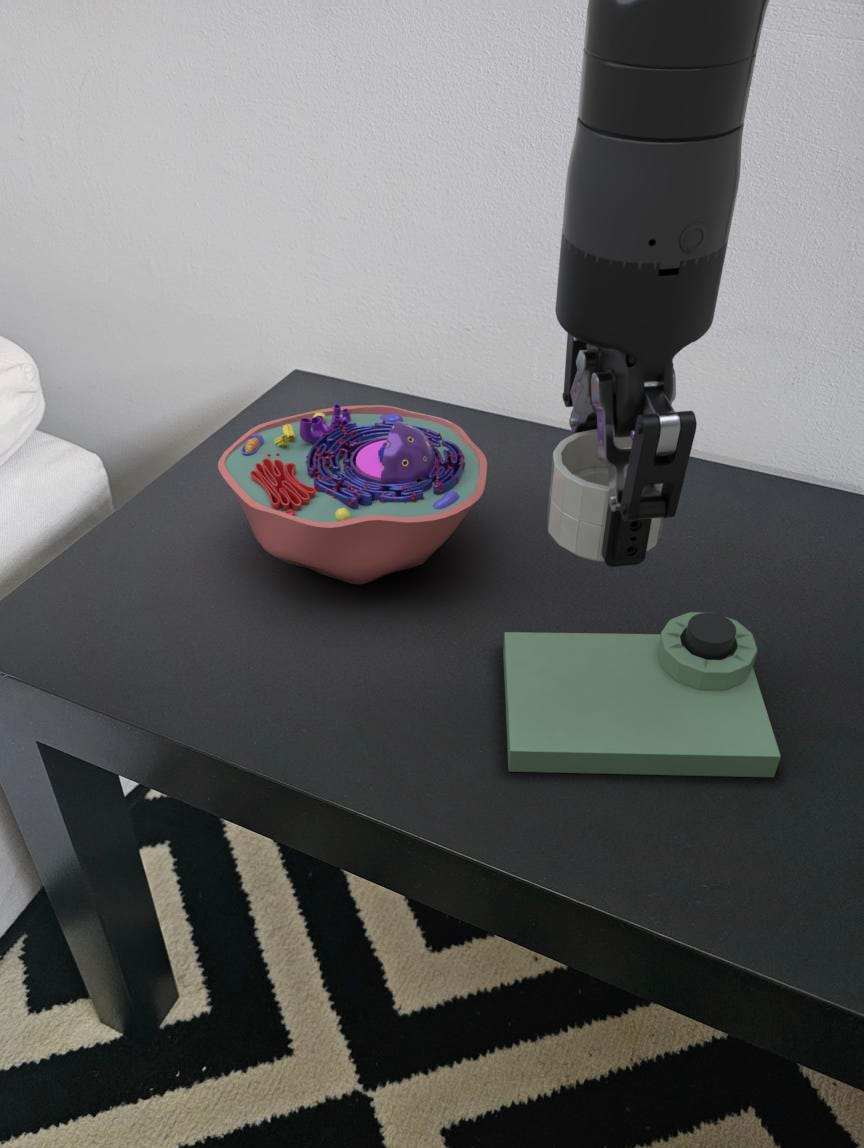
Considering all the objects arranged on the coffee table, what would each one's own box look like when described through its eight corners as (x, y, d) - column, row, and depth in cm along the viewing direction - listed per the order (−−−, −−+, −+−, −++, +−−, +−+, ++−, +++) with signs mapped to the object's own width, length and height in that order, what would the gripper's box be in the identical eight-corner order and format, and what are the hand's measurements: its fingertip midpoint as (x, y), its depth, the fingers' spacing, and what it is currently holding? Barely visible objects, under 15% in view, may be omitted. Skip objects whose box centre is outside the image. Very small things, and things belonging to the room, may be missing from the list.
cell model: (276, 479, 90) (262, 357, 82) (504, 510, 85) (511, 384, 78) (196, 598, 78) (171, 468, 70) (457, 642, 73) (461, 508, 66)
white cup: (651, 503, 61) (664, 428, 58) (666, 568, 57) (681, 491, 53) (543, 502, 62) (550, 428, 58) (550, 567, 57) (557, 490, 54)
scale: (736, 651, 72) (746, 612, 69) (774, 777, 63) (787, 737, 61) (502, 648, 72) (505, 609, 70) (508, 772, 64) (511, 732, 62)
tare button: (726, 630, 68) (731, 612, 67) (735, 661, 66) (740, 643, 65) (680, 630, 69) (684, 611, 68) (688, 660, 66) (692, 642, 65)
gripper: (530, 180, 53) (512, 463, 64) (608, 293, 42) (571, 611, 53) (674, 170, 53) (631, 453, 64) (788, 280, 43) (714, 598, 54)
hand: (604, 524), depth 59 cm, fingers closed on white cup, 6 cm apart
